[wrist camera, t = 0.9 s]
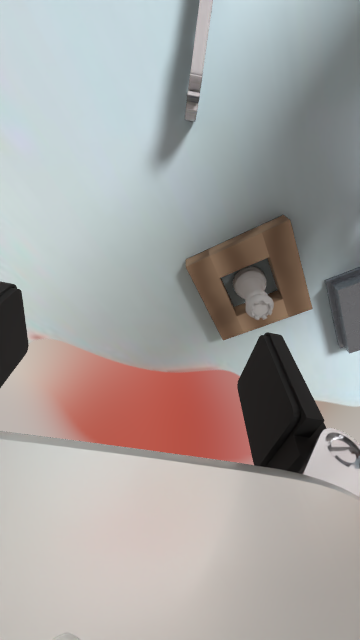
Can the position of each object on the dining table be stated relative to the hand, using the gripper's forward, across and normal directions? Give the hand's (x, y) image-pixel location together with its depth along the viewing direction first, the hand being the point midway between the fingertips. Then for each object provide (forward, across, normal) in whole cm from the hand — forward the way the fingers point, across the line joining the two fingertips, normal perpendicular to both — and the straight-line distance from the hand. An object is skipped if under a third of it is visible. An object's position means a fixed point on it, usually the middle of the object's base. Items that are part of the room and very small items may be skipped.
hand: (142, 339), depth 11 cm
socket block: (+26, -12, +7) cm, 29 cm away
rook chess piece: (+26, -12, +7) cm, 29 cm away
